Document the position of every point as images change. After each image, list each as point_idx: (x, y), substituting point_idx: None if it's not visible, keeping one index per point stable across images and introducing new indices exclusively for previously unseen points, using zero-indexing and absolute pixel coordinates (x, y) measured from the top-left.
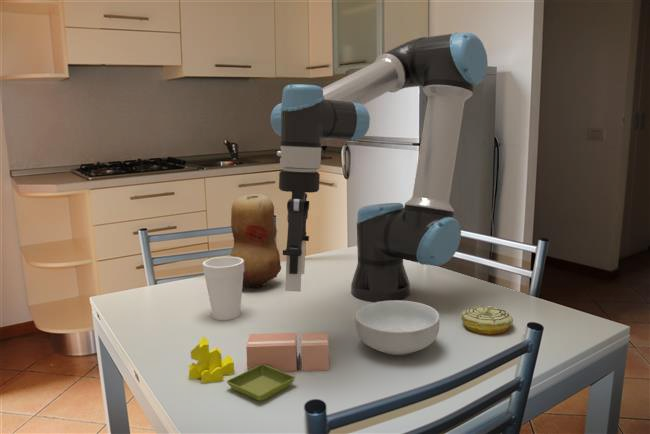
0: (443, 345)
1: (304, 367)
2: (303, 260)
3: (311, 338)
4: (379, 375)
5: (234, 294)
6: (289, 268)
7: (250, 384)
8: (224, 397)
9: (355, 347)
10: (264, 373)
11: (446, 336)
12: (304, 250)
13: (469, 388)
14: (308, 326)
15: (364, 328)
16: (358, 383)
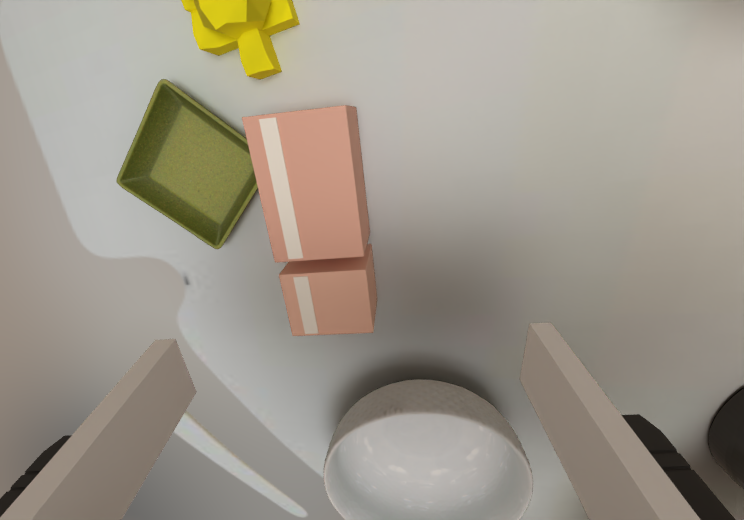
0: None
1: None
2: (554, 441)
3: (329, 296)
4: (295, 384)
5: None
6: (28, 470)
7: (210, 139)
8: (141, 84)
9: (421, 352)
10: None
11: None
12: (589, 516)
13: (270, 484)
14: (574, 245)
15: (361, 418)
16: (260, 351)
